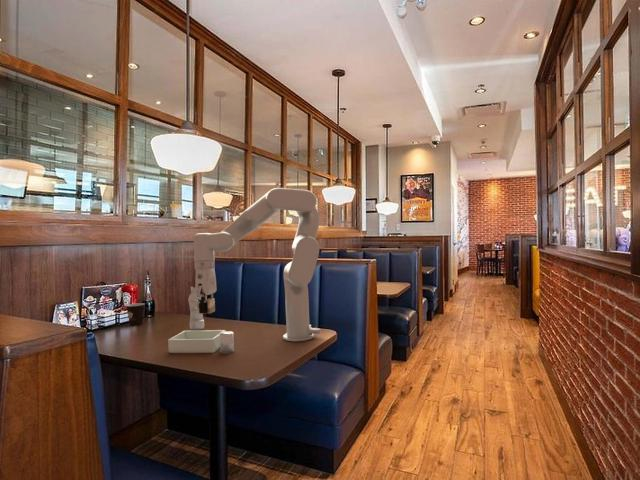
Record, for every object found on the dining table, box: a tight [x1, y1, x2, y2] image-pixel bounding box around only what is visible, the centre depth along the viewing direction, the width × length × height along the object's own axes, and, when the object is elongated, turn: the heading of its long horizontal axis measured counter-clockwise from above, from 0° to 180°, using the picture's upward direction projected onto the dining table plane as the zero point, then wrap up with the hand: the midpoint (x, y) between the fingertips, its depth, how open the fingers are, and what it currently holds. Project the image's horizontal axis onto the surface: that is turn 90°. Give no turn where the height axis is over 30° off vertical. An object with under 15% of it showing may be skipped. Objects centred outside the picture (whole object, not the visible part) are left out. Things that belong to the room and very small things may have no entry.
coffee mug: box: [126, 302, 149, 327], centre depth 198 cm, size 12×9×10 cm
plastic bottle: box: [187, 286, 205, 331], centre depth 182 cm, size 6×7×20 cm
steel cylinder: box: [219, 330, 235, 355], centre depth 146 cm, size 5×5×7 cm
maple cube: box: [197, 297, 216, 315], centre depth 152 cm, size 5×5×5 cm
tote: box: [167, 329, 227, 354], centre depth 153 cm, size 18×14×5 cm
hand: (206, 311), depth 152 cm, fingers closed on maple cube, 4 cm apart
